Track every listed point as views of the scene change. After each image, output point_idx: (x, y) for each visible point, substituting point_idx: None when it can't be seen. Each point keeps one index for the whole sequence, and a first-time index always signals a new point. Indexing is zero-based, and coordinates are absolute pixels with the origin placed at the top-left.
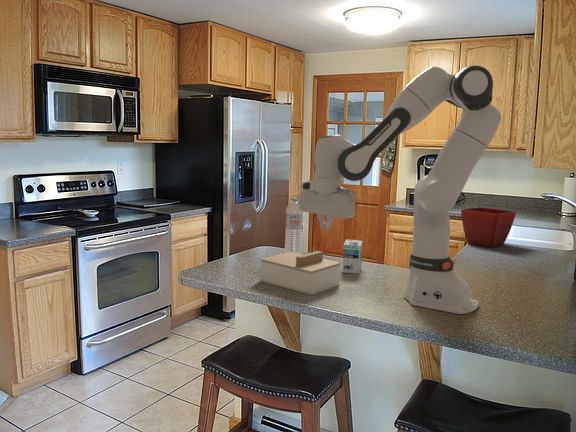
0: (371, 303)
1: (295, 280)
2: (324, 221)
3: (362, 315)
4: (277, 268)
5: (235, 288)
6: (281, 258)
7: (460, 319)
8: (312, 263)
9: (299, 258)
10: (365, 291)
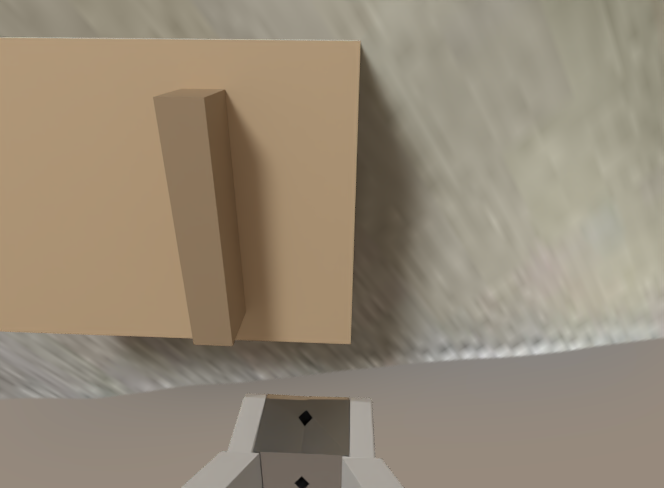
0: (626, 187)
1: None
2: (249, 470)
3: (631, 325)
4: None
5: (102, 385)
6: (31, 248)
7: None
8: (238, 210)
9: (223, 340)
10: (535, 32)
